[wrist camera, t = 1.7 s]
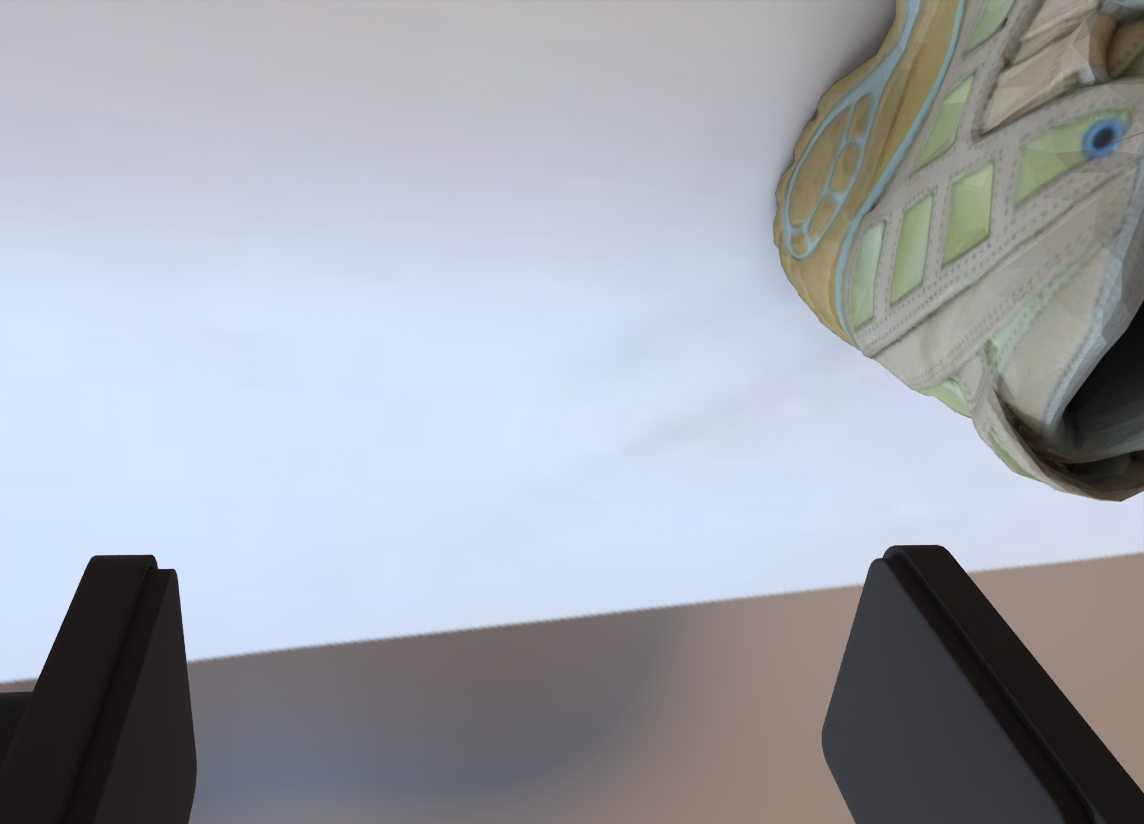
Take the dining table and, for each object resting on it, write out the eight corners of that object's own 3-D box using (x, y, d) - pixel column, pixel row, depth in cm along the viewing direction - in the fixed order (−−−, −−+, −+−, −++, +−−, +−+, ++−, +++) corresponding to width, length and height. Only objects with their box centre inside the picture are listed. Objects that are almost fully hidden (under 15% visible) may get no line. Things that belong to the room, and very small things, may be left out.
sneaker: (1366, -235, 26) (2242, -368, 13) (902, 351, 33) (1169, 651, 20) (1073, -523, 23) (1828, -1074, 10) (628, 189, 30) (730, 417, 17)
